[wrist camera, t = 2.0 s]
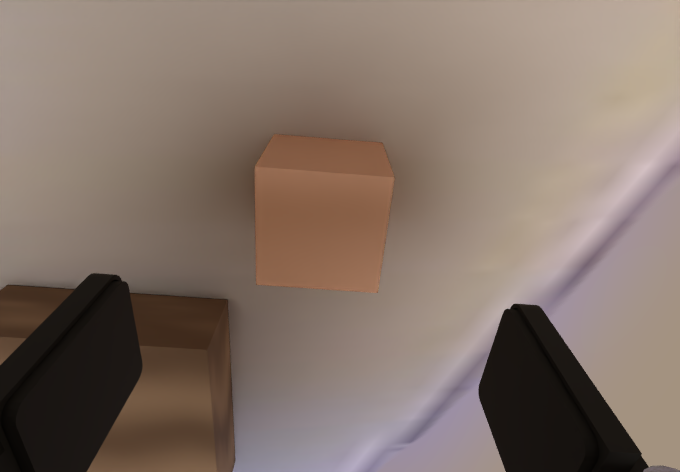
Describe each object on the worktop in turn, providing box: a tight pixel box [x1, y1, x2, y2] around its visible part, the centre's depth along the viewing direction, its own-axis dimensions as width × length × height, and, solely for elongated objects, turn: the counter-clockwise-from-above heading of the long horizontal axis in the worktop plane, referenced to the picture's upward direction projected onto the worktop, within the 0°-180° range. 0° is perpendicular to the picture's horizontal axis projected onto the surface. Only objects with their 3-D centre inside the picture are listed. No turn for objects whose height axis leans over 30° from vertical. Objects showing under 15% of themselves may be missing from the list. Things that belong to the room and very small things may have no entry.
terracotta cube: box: [255, 134, 395, 293], centre depth 18 cm, size 5×5×5 cm
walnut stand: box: [0, 285, 235, 472], centre depth 24 cm, size 14×12×4 cm
